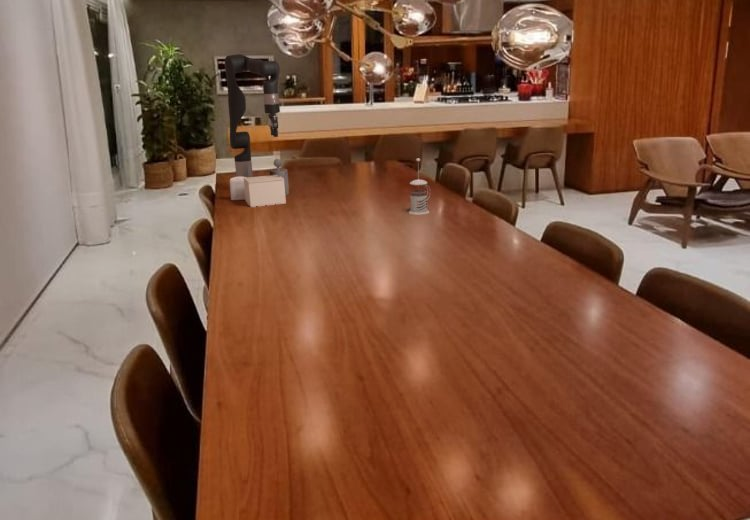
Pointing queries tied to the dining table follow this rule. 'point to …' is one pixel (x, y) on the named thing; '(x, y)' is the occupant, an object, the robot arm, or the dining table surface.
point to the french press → (421, 199)
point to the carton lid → (267, 178)
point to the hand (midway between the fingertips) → (274, 136)
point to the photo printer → (237, 188)
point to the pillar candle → (284, 175)
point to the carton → (265, 193)
